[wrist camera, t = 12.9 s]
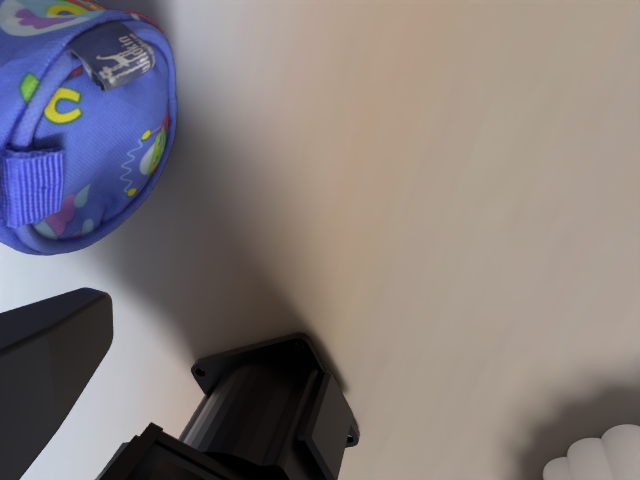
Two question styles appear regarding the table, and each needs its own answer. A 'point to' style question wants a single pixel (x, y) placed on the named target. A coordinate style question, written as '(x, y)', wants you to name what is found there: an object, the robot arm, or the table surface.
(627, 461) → the mooncake
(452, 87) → the table surface
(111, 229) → the pencil case
